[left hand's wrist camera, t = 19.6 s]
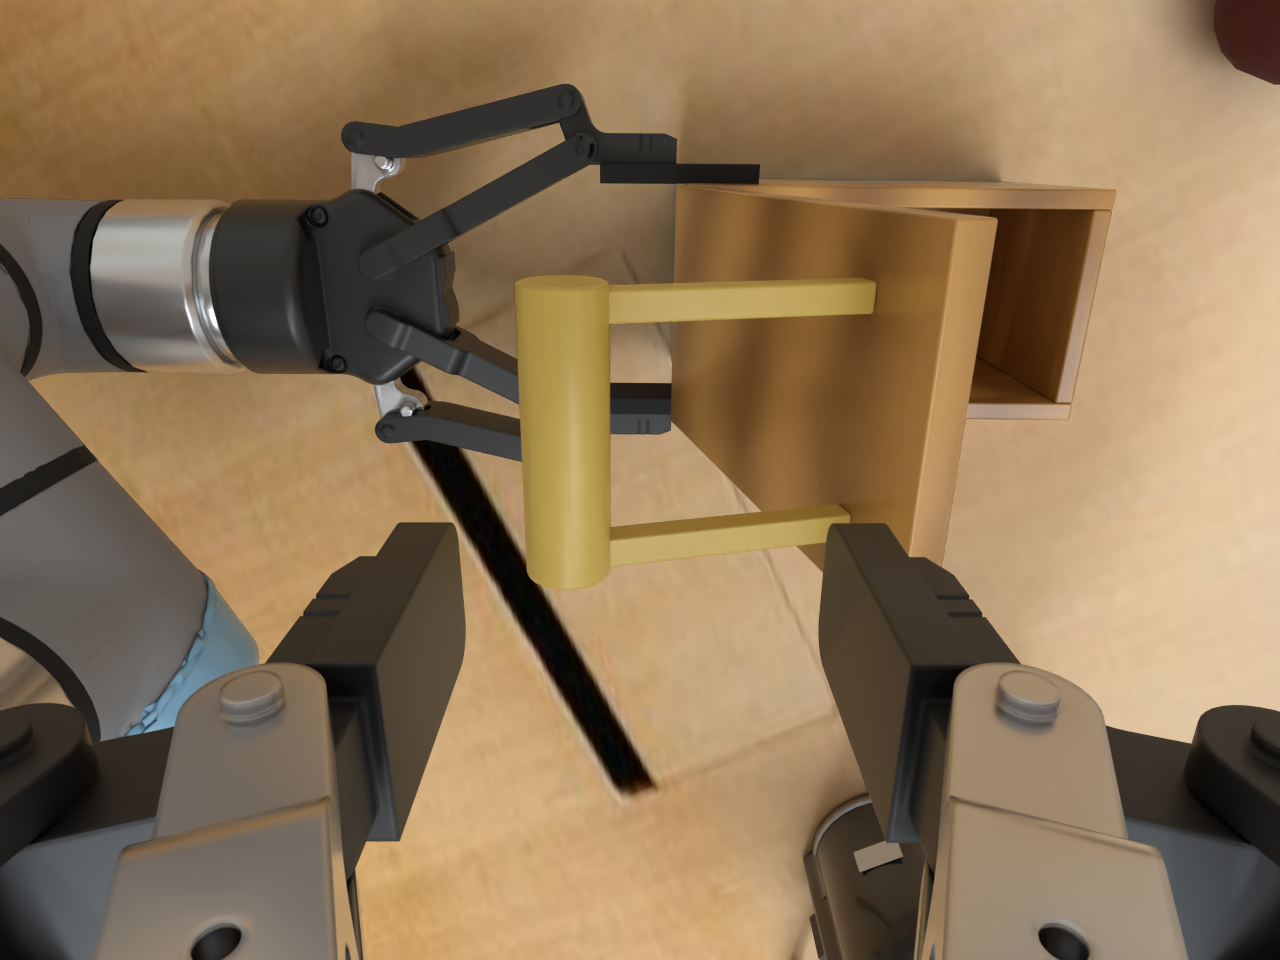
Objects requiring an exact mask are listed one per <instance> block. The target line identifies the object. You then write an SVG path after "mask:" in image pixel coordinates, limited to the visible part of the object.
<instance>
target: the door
mask: <svg viewBox="0 0 1280 960" xmlns="http://www.w3.org/2000/svg"><path fill="white" fill-rule="evenodd" d="M997 222H998V220H997V219H996V218H995V217H985V216H976V215H967V214H957V213H948V212H939V211H929V210H920V209H911V208H902V207H892V206H883V205H874V204H864V203H855V202H846V201H836V200H827V199H818V198H808V197H799V196H790V195H781V194H771V193H762V192H753V191H743V190H734V189H725V188H715V187H706V186H677V188H676V228H675V268H674V283H661V284H626V285H609V282H608V281H606V280H604V279H601V278H597V277H591V276H580V275H545V276H534V277H527V278H523V279H520V280H518V281H516V282H515V285H514V293H515V315H516V337H517V360H518V382H519V404H520V427H521V449H522V471H523V493H524V516H525V538H526V560H527V573H528V575H529V577H530V578H531V579H532V580H533V581H534V582H536V583H537V584H539V585H541V586H544V587H548V588H552V589H560V590H572V589H581V588H586V587H589V586H592V585H595V584H597V583H599V582H601V581H602V580H604V579H605V578H606V577H607V576H608V574H609V572H610V569H611V567H613V566H622V565H631V564H640V563H648V562H657V561H666V560H675V559H684V558H692V557H701V556H710V555H719V554H728V553H737V552H745V551H754V550H763V549H772V548H781V547H790V546H797V547H798V548H799V549H800V550H801V551H802V552H803V553H804V554H805V555H806V556H807V557H808V558H809V559H810V560H811V561H812V562H813V563H814V564H815V565H816V566H817V567H818V568H819V569H820V570H821V571H822V572H823V569H824V558H825V547H826V538H827V533H828V529H829V527H830V525H831V524H832V523H885V524H887V525H888V527H889V528H890V529H891V531H892V532H893V534H894V535H895V537H896V538H897V540H898V541H899V543H900V544H901V546H902V547H903V549H904V550H905V552H906V553H907V555H908V556H909V557H926V558H927V559H929V560H930V561H932V562H934V563H935V564H937V565H938V566H940V567H942V563H943V557H944V551H945V545H946V539H947V532H948V526H949V520H950V514H951V508H952V501H953V495H954V489H955V483H956V477H957V470H958V464H959V458H960V452H961V446H962V439H963V433H964V427H965V421H966V415H967V408H968V402H969V396H970V390H971V384H972V377H973V371H974V365H975V359H976V353H977V346H978V340H979V334H980V328H981V322H982V315H983V309H984V303H985V297H986V291H987V284H988V278H989V272H990V266H991V260H992V253H993V247H994V241H995V235H996V229H997ZM652 322H673V349H672V389H671V421H672V422H673V423H674V424H675V425H676V426H677V427H678V428H679V429H680V430H681V431H682V432H683V433H684V434H685V435H686V436H687V437H688V438H689V439H690V440H691V441H692V442H693V443H694V444H695V445H696V446H697V447H698V448H699V449H700V450H701V451H702V452H703V453H704V454H705V455H706V456H707V457H708V458H709V459H710V460H711V461H712V462H713V463H714V464H715V465H716V466H717V467H718V468H719V469H720V470H721V471H722V472H723V473H724V474H725V475H726V476H727V477H728V478H729V479H730V480H731V481H732V482H733V483H734V484H735V485H736V486H737V487H738V488H739V489H740V490H741V491H742V492H743V493H744V494H745V495H746V496H747V497H748V498H749V499H750V500H751V501H752V502H753V503H754V504H755V505H756V506H757V507H758V508H759V509H760V510H761V511H762V512H756V513H746V514H736V515H726V516H716V517H706V518H696V519H687V520H677V521H667V522H657V523H647V524H637V525H627V526H617V527H611V514H610V324H627V323H652Z"/></svg>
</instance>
